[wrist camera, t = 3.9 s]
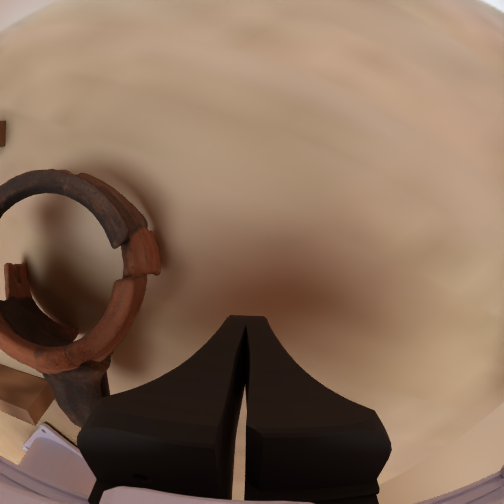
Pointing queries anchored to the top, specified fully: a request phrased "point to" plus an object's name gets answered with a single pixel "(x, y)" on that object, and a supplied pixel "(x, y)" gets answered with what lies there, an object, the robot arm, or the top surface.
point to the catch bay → (23, 381)
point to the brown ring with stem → (117, 312)
